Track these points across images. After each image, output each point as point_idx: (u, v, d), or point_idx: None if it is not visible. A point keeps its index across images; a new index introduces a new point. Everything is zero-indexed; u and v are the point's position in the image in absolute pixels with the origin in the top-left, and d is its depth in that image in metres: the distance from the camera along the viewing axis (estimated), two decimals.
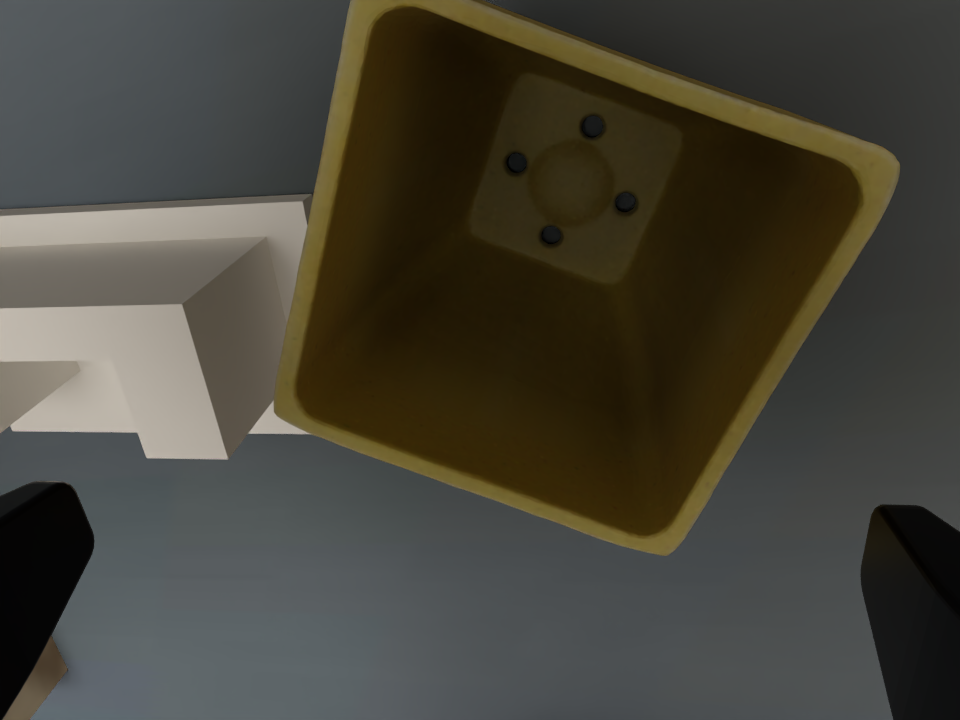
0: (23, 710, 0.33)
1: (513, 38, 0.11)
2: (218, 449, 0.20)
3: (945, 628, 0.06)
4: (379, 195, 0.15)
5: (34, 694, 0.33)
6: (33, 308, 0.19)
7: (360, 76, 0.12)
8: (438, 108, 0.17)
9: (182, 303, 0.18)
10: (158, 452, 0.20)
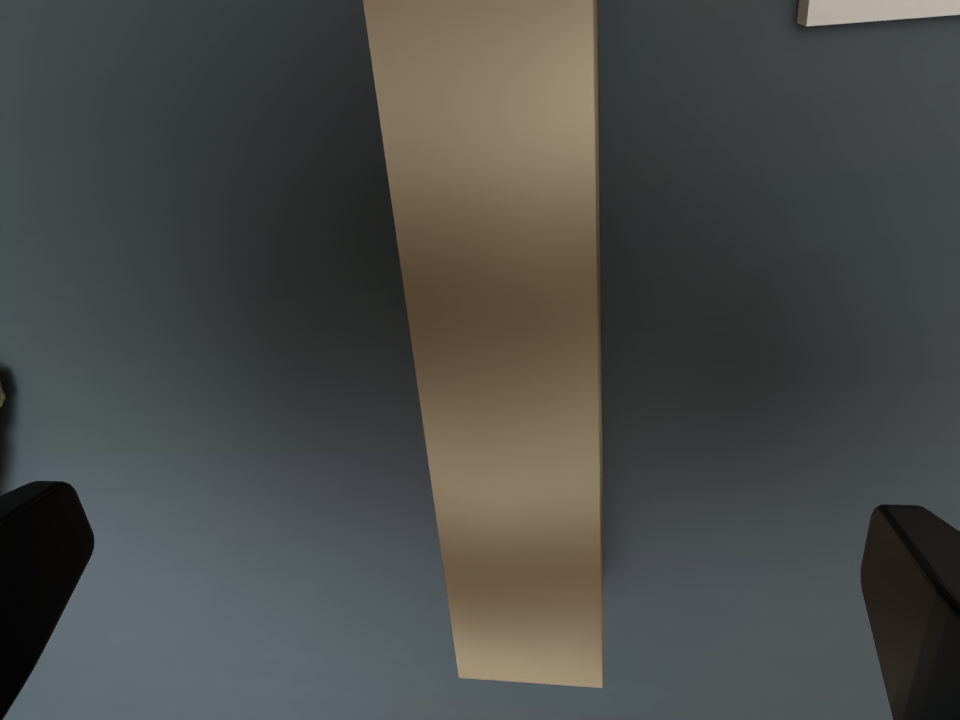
0: (602, 626, 0.19)
1: None
2: None
3: (945, 628, 0.06)
4: None
5: None
6: None
7: None
8: None
9: None
10: None
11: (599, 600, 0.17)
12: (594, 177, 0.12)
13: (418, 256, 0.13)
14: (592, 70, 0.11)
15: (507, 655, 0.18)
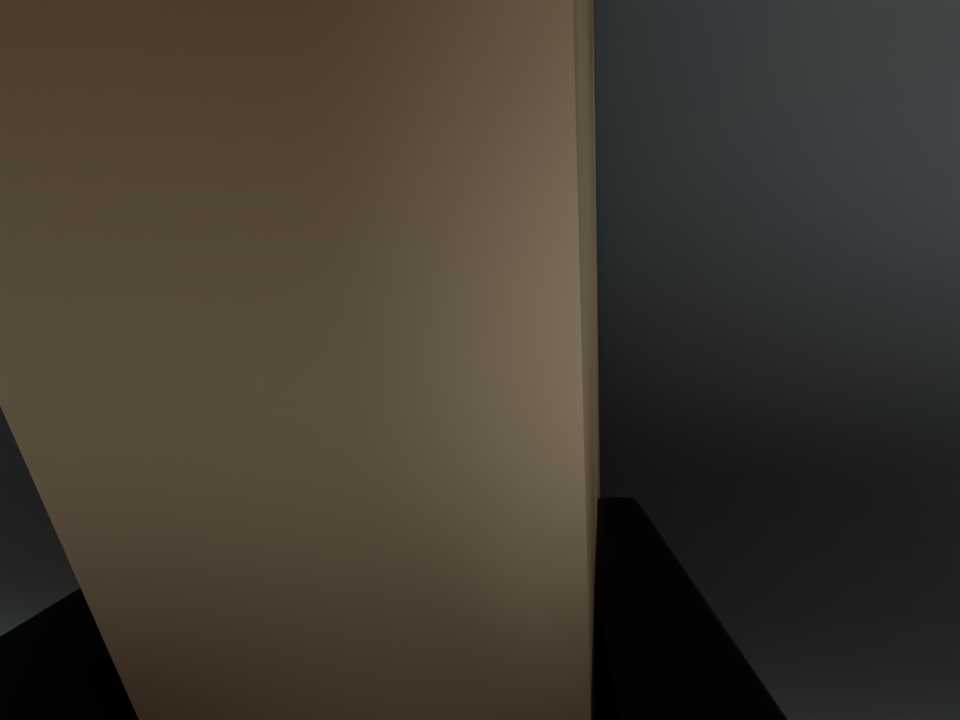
0: None
1: None
2: None
3: (597, 609, 0.06)
4: None
5: None
6: None
7: None
8: None
9: None
10: None
11: None
12: (584, 563, 0.04)
13: (161, 676, 0.06)
14: (575, 309, 0.04)
15: None
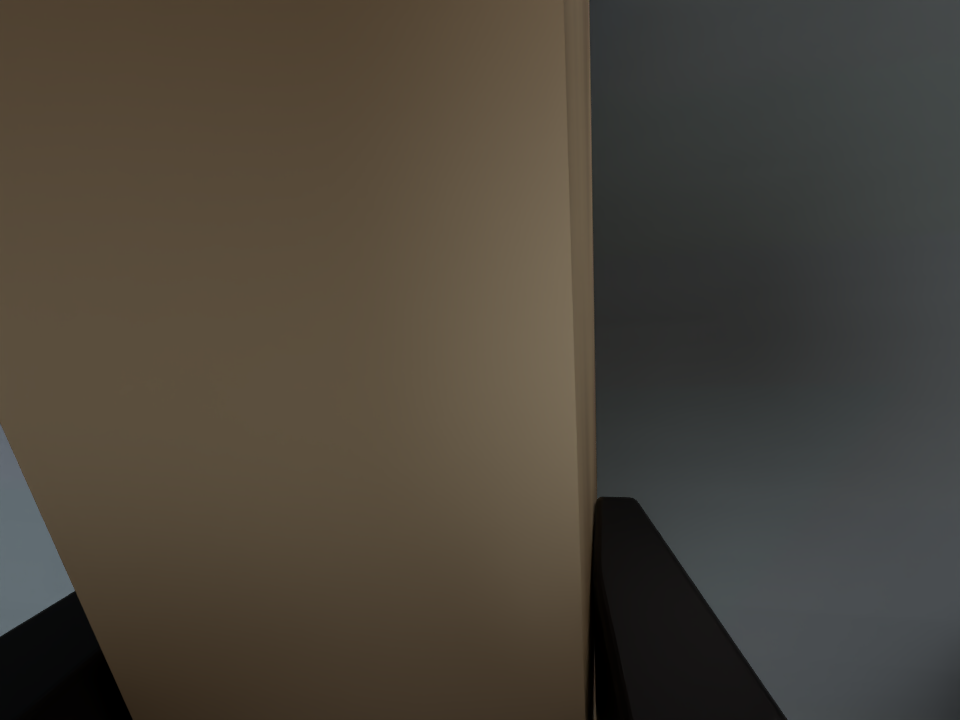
0: None
1: None
2: None
3: None
4: None
5: None
6: None
7: None
8: None
9: None
10: None
11: None
12: (578, 559, 0.04)
13: (154, 674, 0.05)
14: (568, 302, 0.04)
15: None
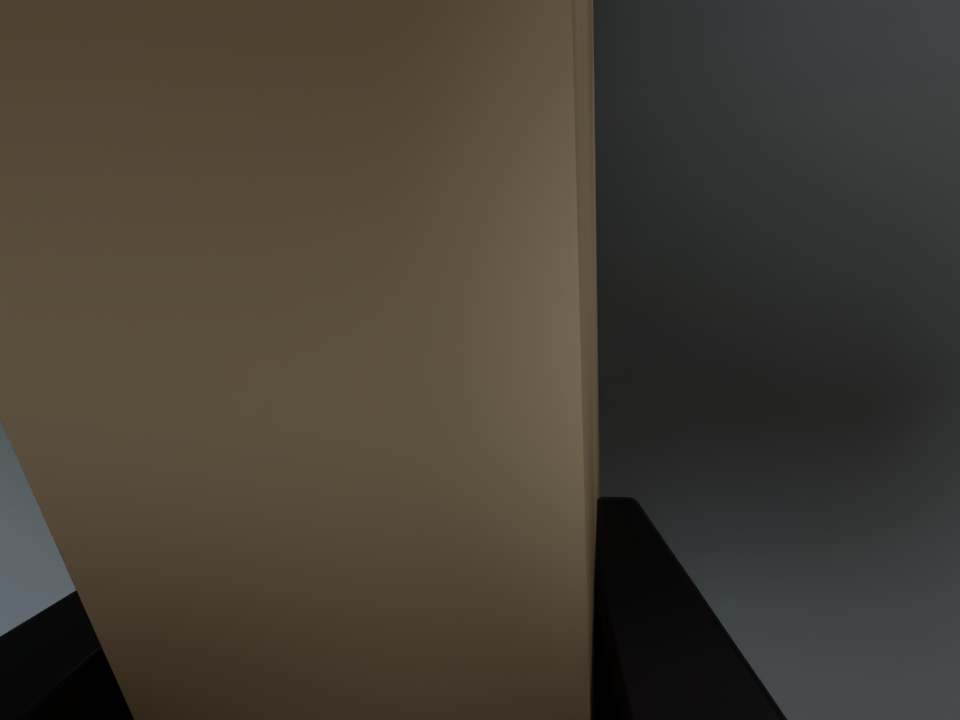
0: None
1: None
2: None
3: None
4: None
5: None
6: None
7: None
8: None
9: None
10: None
11: None
12: (583, 560, 0.04)
13: (156, 676, 0.05)
14: (575, 302, 0.04)
15: None
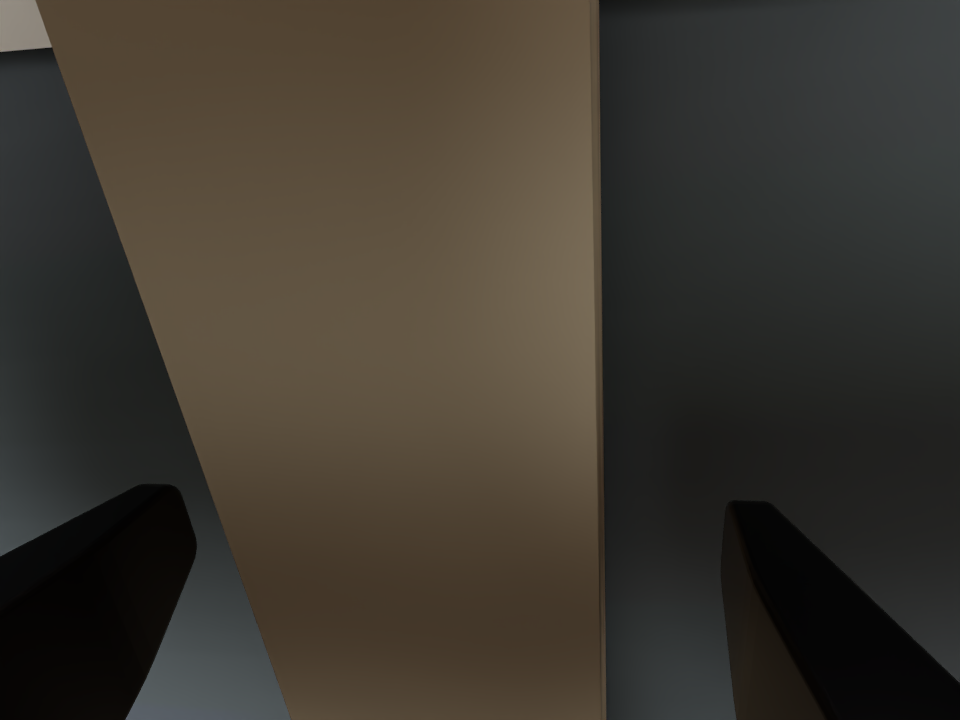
0: None
1: None
2: None
3: (759, 618, 0.06)
4: None
5: None
6: None
7: None
8: None
9: None
10: None
11: None
12: (594, 437, 0.06)
13: (262, 541, 0.07)
14: (590, 242, 0.05)
15: None
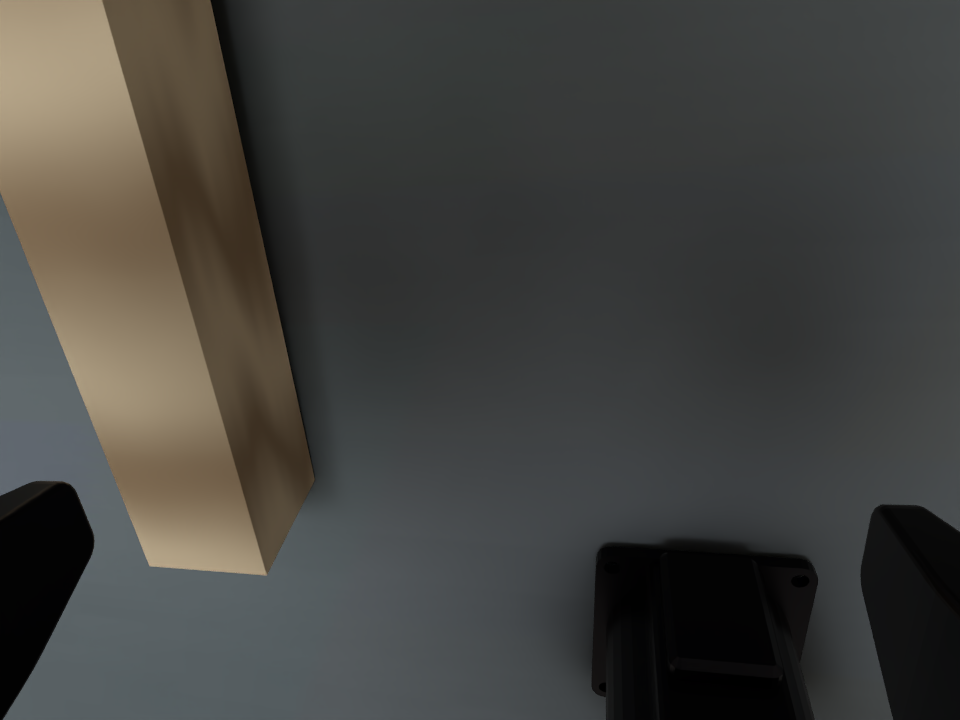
0: (279, 525, 0.21)
1: None
2: None
3: (945, 628, 0.06)
4: None
5: (288, 504, 0.22)
6: None
7: None
8: None
9: None
10: None
11: (242, 497, 0.19)
12: (137, 123, 0.14)
13: (14, 188, 0.15)
14: (109, 29, 0.13)
15: (183, 546, 0.20)
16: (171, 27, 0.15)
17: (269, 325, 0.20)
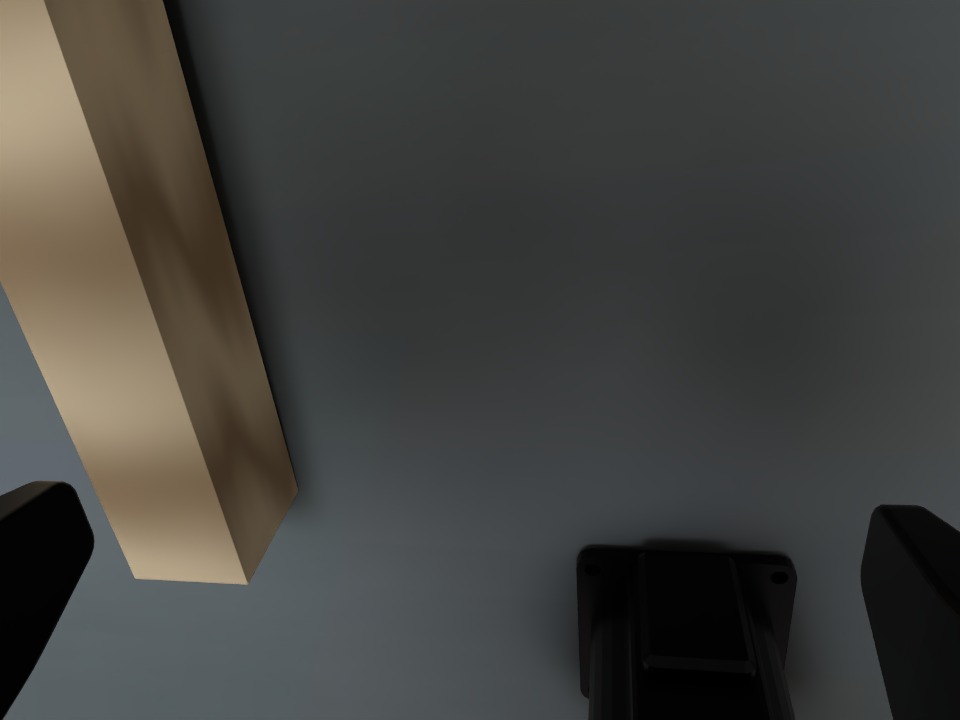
0: (260, 535, 0.22)
1: None
2: None
3: (945, 628, 0.06)
4: None
5: (269, 515, 0.22)
6: None
7: None
8: None
9: None
10: None
11: (219, 507, 0.20)
12: (95, 147, 0.15)
13: None
14: (63, 59, 0.14)
15: (165, 558, 0.21)
16: (129, 55, 0.16)
17: (243, 339, 0.21)
